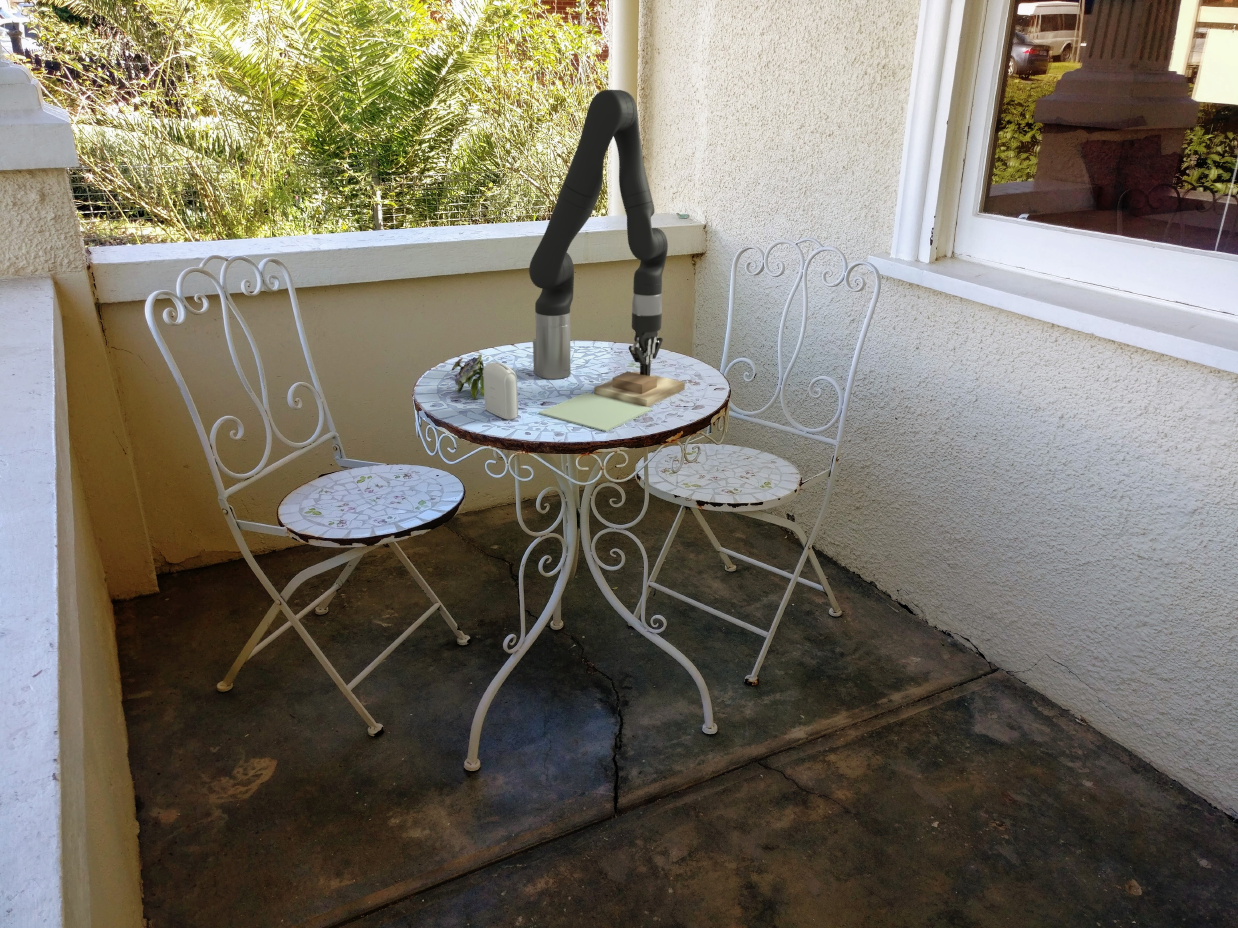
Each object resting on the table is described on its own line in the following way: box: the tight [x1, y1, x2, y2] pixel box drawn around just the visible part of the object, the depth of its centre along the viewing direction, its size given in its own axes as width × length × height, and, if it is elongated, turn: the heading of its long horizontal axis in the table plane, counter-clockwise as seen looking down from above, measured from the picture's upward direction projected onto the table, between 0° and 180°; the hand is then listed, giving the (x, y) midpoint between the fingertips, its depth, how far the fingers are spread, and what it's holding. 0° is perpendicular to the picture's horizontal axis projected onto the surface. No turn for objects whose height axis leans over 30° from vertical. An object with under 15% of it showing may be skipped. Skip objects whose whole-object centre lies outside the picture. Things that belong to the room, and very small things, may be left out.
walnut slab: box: [611, 370, 657, 394], centre depth 224 cm, size 9×7×2 cm
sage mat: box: [538, 391, 653, 433], centre depth 213 cm, size 20×19×1 cm
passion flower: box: [451, 353, 485, 401], centre depth 224 cm, size 11×11×12 cm
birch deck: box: [593, 370, 686, 408], centre depth 227 cm, size 16×18×2 cm
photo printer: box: [483, 361, 519, 420], centre depth 208 cm, size 10×4×12 cm, turn 39°
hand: (645, 377), depth 228 cm, fingers closed
